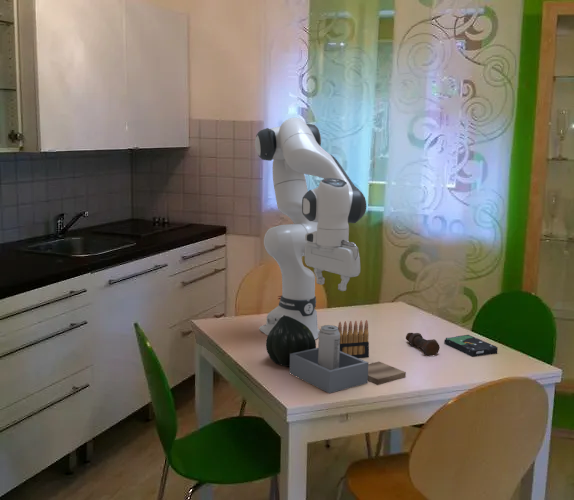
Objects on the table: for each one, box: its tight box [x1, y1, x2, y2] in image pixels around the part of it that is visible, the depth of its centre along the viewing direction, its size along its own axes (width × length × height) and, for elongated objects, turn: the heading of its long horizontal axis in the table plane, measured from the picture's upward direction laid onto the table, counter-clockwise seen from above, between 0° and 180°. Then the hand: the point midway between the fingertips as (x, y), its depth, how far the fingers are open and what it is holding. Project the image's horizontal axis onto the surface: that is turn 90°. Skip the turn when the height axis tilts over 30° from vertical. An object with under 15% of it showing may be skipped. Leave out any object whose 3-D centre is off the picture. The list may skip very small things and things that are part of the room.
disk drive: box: [443, 334, 499, 358], centre depth 223 cm, size 10×3×15 cm
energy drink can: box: [317, 324, 340, 370], centre depth 192 cm, size 6×6×15 cm
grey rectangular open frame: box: [289, 347, 369, 394], centre depth 193 cm, size 18×14×6 cm
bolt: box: [405, 332, 440, 357], centre depth 222 cm, size 6×5×15 cm
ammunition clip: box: [337, 319, 370, 359], centre depth 211 cm, size 11×2×12 cm, turn 107°
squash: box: [265, 315, 317, 367], centre depth 206 cm, size 14×15×15 cm
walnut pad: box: [368, 361, 407, 386], centre depth 197 cm, size 11×11×2 cm
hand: (331, 287), depth 189 cm, fingers open, 8 cm apart
